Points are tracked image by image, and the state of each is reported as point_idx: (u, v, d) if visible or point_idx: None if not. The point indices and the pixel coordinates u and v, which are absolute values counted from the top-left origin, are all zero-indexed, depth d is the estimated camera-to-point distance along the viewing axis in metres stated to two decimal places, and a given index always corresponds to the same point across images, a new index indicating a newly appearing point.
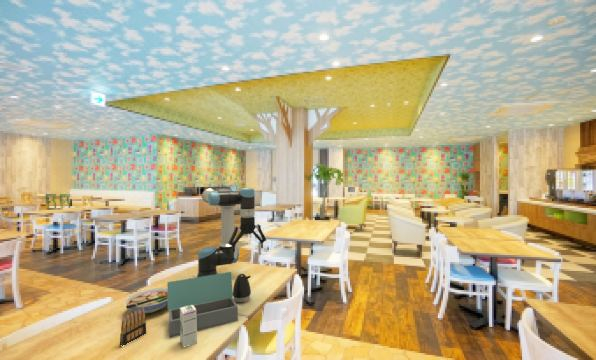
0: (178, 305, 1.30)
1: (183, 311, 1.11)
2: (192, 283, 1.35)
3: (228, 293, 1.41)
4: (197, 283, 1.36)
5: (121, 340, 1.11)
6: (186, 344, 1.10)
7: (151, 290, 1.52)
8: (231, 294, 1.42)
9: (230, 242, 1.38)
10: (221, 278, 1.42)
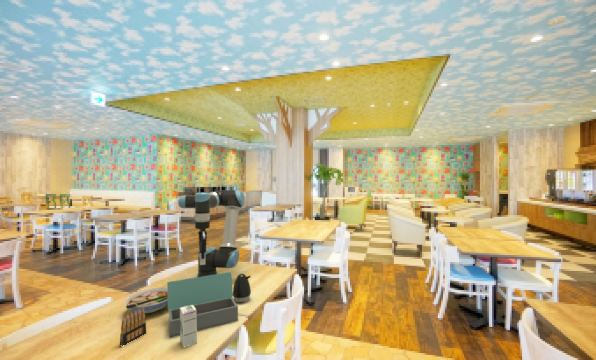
0: (178, 305, 1.30)
1: (183, 311, 1.11)
2: (192, 283, 1.35)
3: (228, 293, 1.41)
4: (197, 283, 1.36)
5: (121, 340, 1.11)
6: (186, 344, 1.10)
7: (151, 290, 1.52)
8: (231, 294, 1.42)
9: (199, 247, 1.48)
10: (221, 278, 1.42)
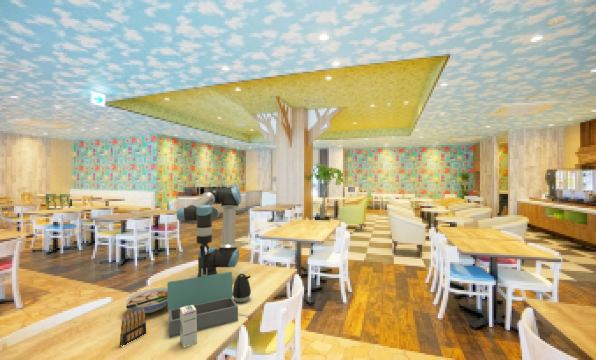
0: (178, 305, 1.29)
1: (183, 311, 1.11)
2: (192, 283, 1.34)
3: (228, 293, 1.41)
4: (197, 283, 1.35)
5: (121, 340, 1.11)
6: (186, 344, 1.10)
7: (151, 290, 1.52)
8: (231, 294, 1.41)
9: None
10: (221, 278, 1.41)
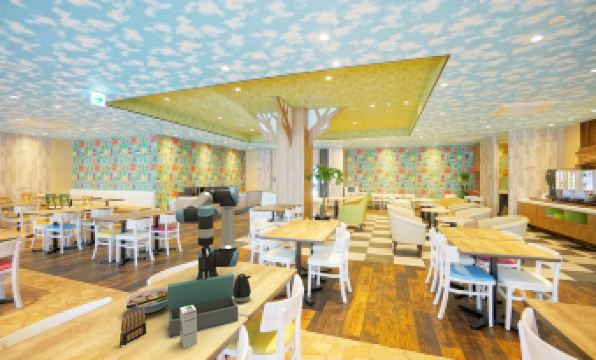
0: (178, 306, 1.29)
1: (183, 311, 1.11)
2: (193, 286, 1.30)
3: (228, 294, 1.40)
4: (198, 286, 1.31)
5: (121, 340, 1.11)
6: (186, 344, 1.10)
7: (151, 290, 1.52)
8: (231, 295, 1.41)
9: (202, 265, 1.38)
10: (223, 281, 1.37)
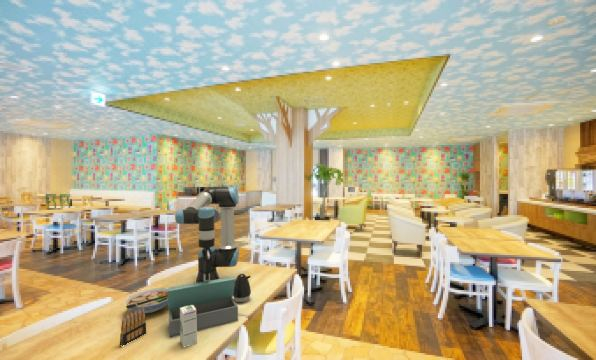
0: (178, 306, 1.29)
1: (183, 311, 1.11)
2: (194, 290, 1.28)
3: (228, 295, 1.40)
4: (199, 289, 1.30)
5: (121, 340, 1.11)
6: (186, 344, 1.10)
7: (151, 290, 1.52)
8: (231, 295, 1.41)
9: (203, 267, 1.35)
10: (224, 284, 1.35)
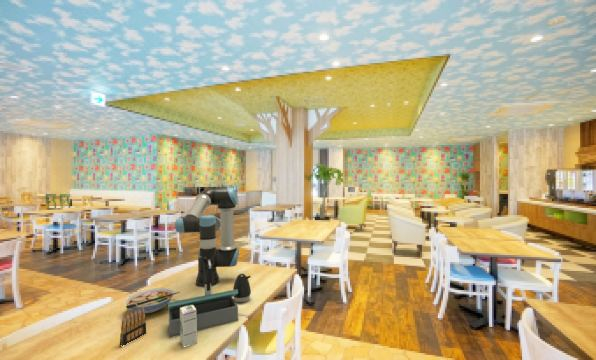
0: (178, 307, 1.28)
1: (183, 311, 1.11)
2: (195, 302, 1.25)
3: (229, 297, 1.39)
4: (200, 301, 1.26)
5: (121, 340, 1.11)
6: (186, 344, 1.10)
7: (151, 290, 1.52)
8: (231, 296, 1.40)
9: (204, 277, 1.32)
10: (226, 295, 1.31)
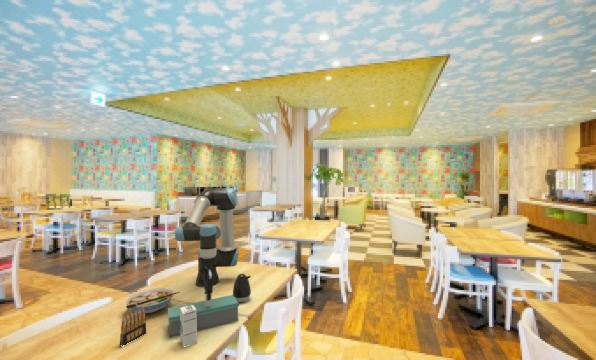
0: None
1: (183, 311, 1.11)
2: None
3: None
4: None
5: (121, 340, 1.11)
6: (186, 344, 1.10)
7: (151, 290, 1.52)
8: None
9: None
10: None
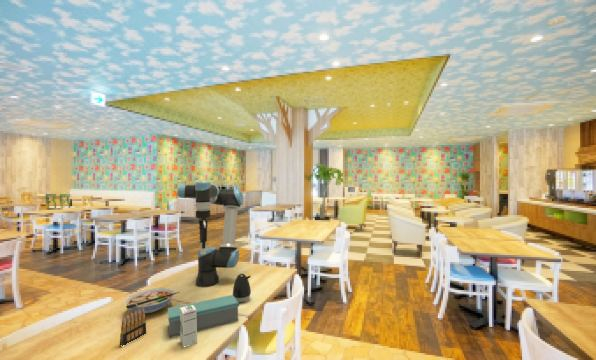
0: None
1: (183, 311, 1.11)
2: None
3: None
4: None
5: (121, 340, 1.11)
6: (186, 344, 1.10)
7: (151, 290, 1.52)
8: None
9: None
10: None
